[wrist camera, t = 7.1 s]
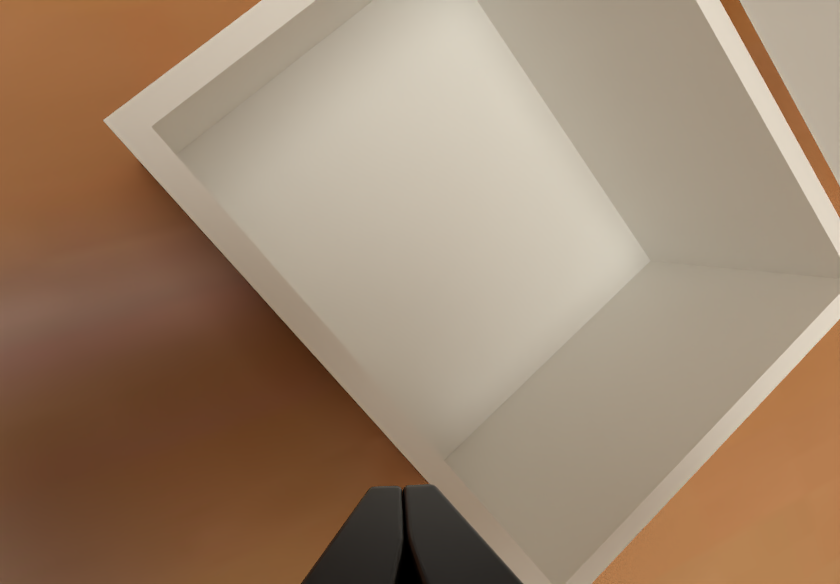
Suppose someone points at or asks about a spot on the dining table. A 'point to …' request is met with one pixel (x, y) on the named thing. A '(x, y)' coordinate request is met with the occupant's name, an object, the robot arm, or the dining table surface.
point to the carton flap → (806, 62)
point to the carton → (512, 238)
